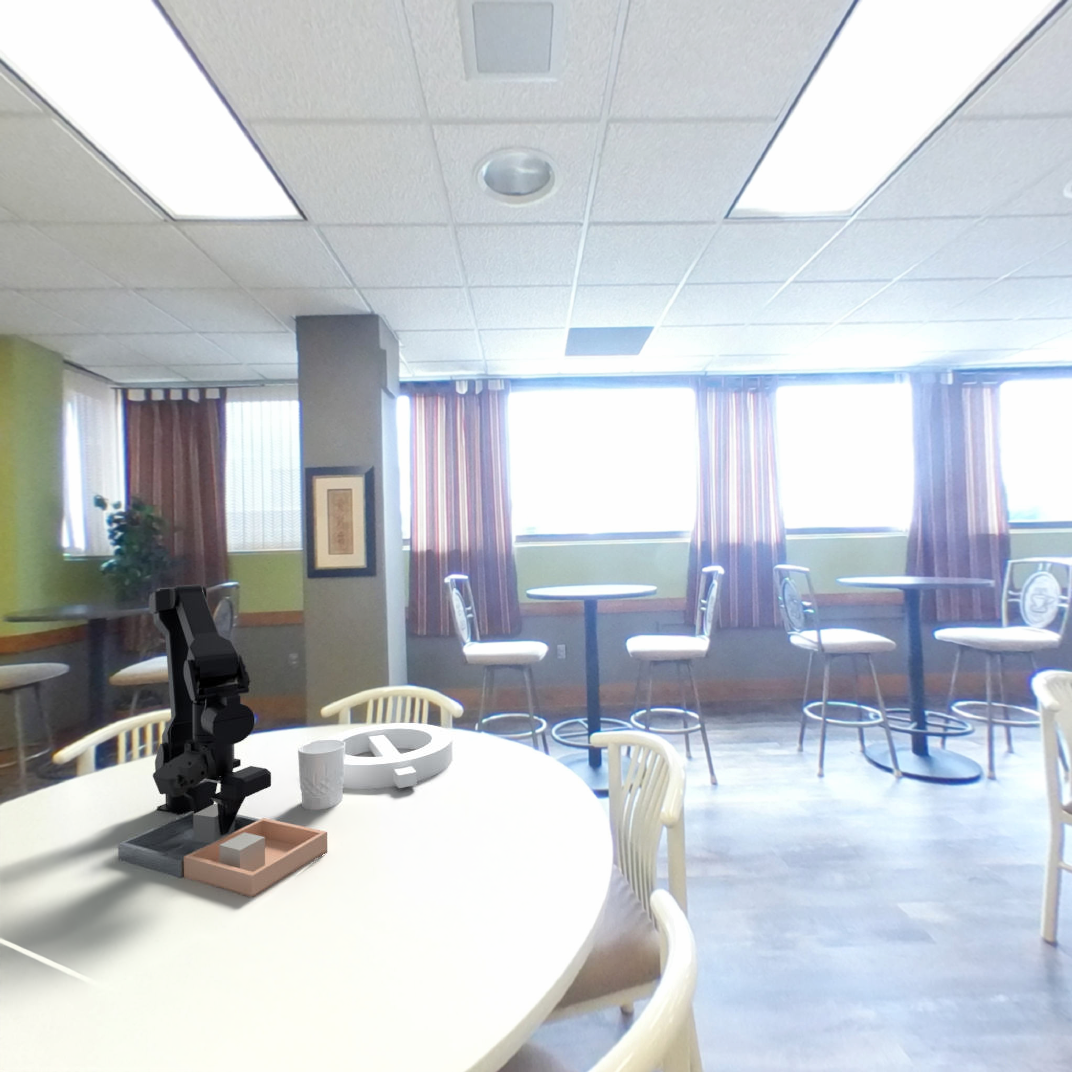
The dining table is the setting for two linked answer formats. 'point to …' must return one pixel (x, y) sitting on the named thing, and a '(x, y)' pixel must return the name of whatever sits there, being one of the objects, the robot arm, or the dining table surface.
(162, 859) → the bin
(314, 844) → the dish
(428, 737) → the ring with crossbar
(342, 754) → the white cup
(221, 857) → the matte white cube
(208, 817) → the grey cube
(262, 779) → the robot arm
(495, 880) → the dining table surface
